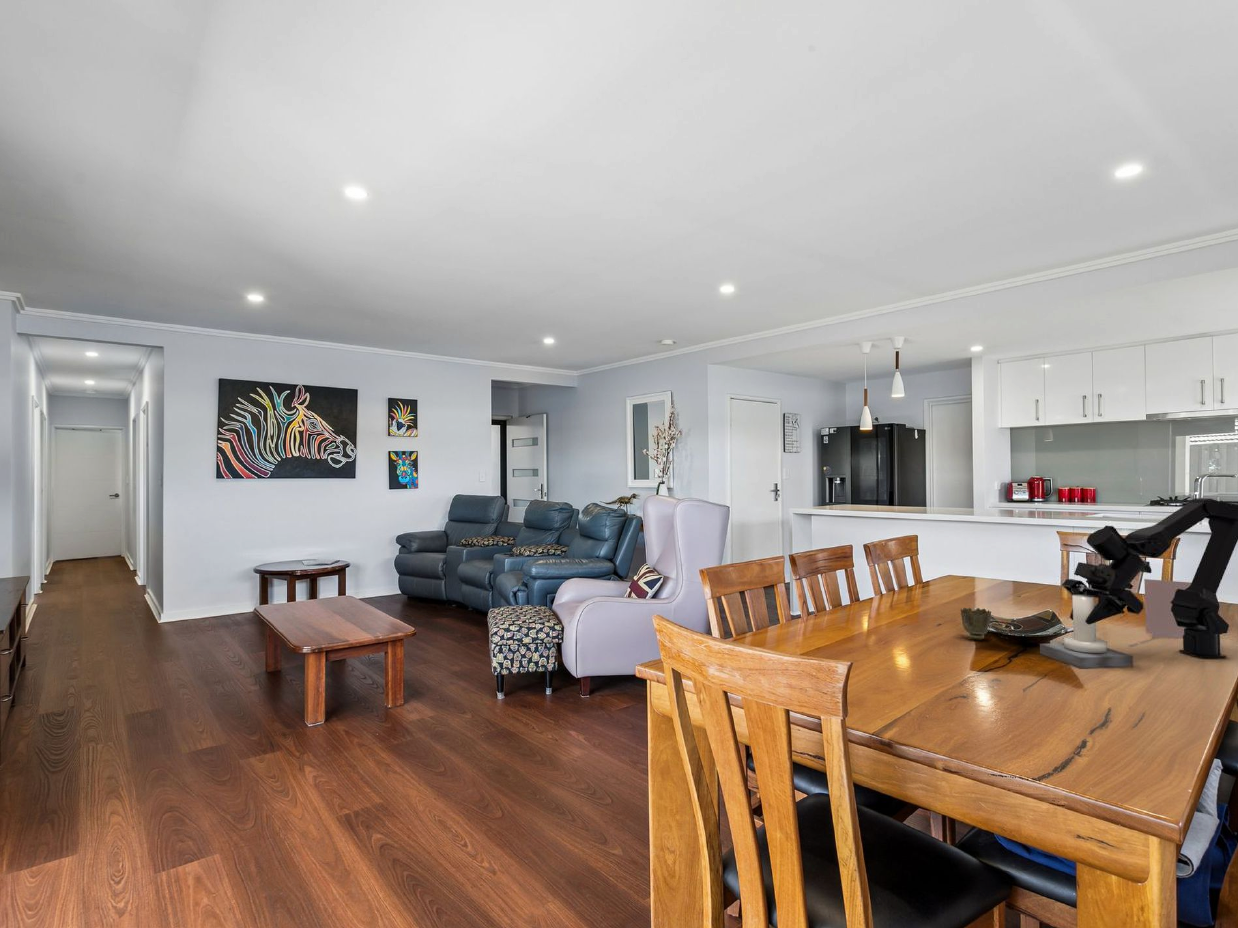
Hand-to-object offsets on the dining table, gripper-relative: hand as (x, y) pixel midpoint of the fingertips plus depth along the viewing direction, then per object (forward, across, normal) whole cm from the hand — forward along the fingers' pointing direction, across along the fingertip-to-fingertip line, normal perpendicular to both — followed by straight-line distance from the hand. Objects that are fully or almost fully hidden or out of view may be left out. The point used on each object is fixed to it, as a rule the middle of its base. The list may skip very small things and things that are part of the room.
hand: (1079, 621), depth 161 cm
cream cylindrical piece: (+4, 0, +6) cm, 7 cm away
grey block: (+6, 0, +8) cm, 9 cm away
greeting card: (-22, -17, +36) cm, 46 cm away
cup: (+15, -23, -1) cm, 27 cm away
